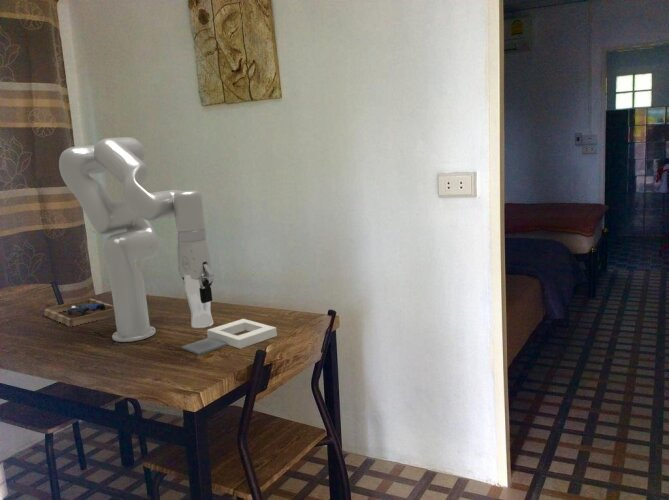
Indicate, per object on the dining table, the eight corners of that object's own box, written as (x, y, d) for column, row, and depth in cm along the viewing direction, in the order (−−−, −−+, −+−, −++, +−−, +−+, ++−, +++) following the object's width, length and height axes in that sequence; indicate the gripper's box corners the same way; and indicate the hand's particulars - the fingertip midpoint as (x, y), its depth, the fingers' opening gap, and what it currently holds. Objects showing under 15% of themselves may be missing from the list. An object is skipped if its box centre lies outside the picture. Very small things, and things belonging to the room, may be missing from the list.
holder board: (207, 338, 177) (206, 329, 177) (244, 326, 186) (243, 318, 186) (240, 348, 166) (239, 340, 165) (276, 335, 175) (276, 327, 174)
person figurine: (61, 322, 213) (92, 320, 203) (58, 310, 213) (89, 307, 203) (87, 313, 222) (119, 311, 212) (84, 301, 222) (115, 298, 212)
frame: (44, 315, 216) (43, 309, 215) (91, 304, 227) (90, 298, 227) (70, 327, 199) (69, 320, 198) (120, 314, 210) (119, 307, 210)
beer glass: (209, 328, 164) (202, 274, 162) (185, 329, 166) (178, 275, 163) (218, 321, 171) (213, 269, 168) (196, 321, 172) (189, 269, 170)
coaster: (181, 348, 170) (181, 346, 170) (209, 339, 176) (209, 337, 176) (199, 354, 163) (198, 352, 163) (227, 345, 169) (226, 343, 169)
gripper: (163, 236, 168) (171, 299, 171) (197, 240, 155) (205, 307, 158) (187, 232, 173) (194, 293, 176) (221, 236, 160) (228, 301, 163)
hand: (199, 299), depth 167 cm, fingers closed on beer glass, 6 cm apart
